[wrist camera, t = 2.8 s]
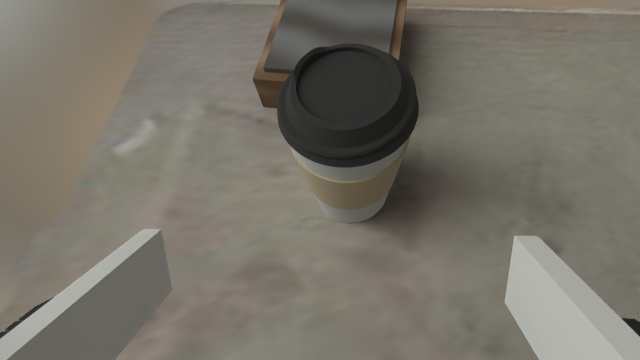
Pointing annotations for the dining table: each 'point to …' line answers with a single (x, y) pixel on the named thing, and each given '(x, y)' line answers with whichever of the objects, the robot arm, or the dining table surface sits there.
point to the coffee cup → (348, 125)
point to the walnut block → (324, 35)
